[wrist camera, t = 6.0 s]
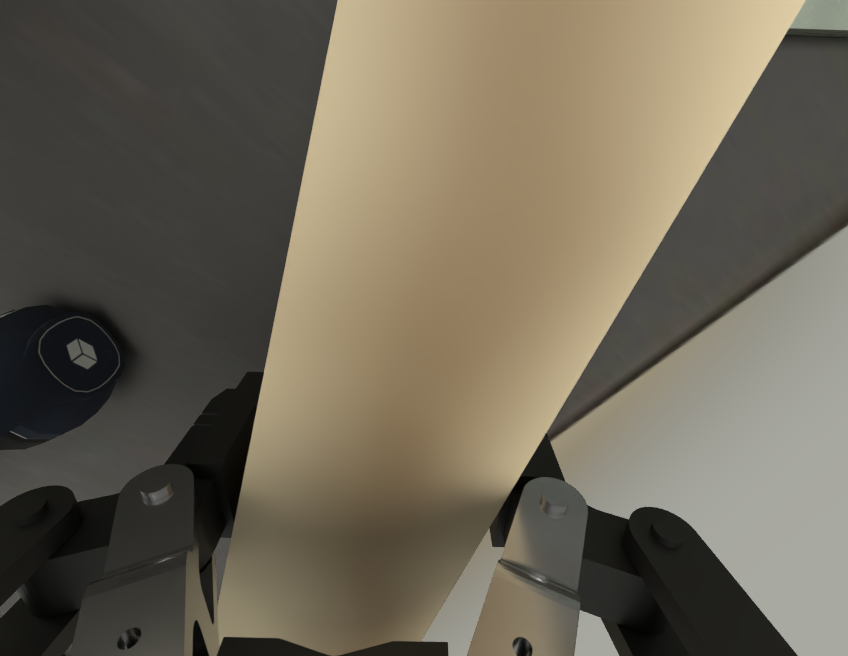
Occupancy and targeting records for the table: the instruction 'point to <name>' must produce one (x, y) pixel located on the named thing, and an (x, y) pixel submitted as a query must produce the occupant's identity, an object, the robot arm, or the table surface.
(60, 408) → the headphones
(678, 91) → the pine rod
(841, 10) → the stand
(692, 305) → the table surface
